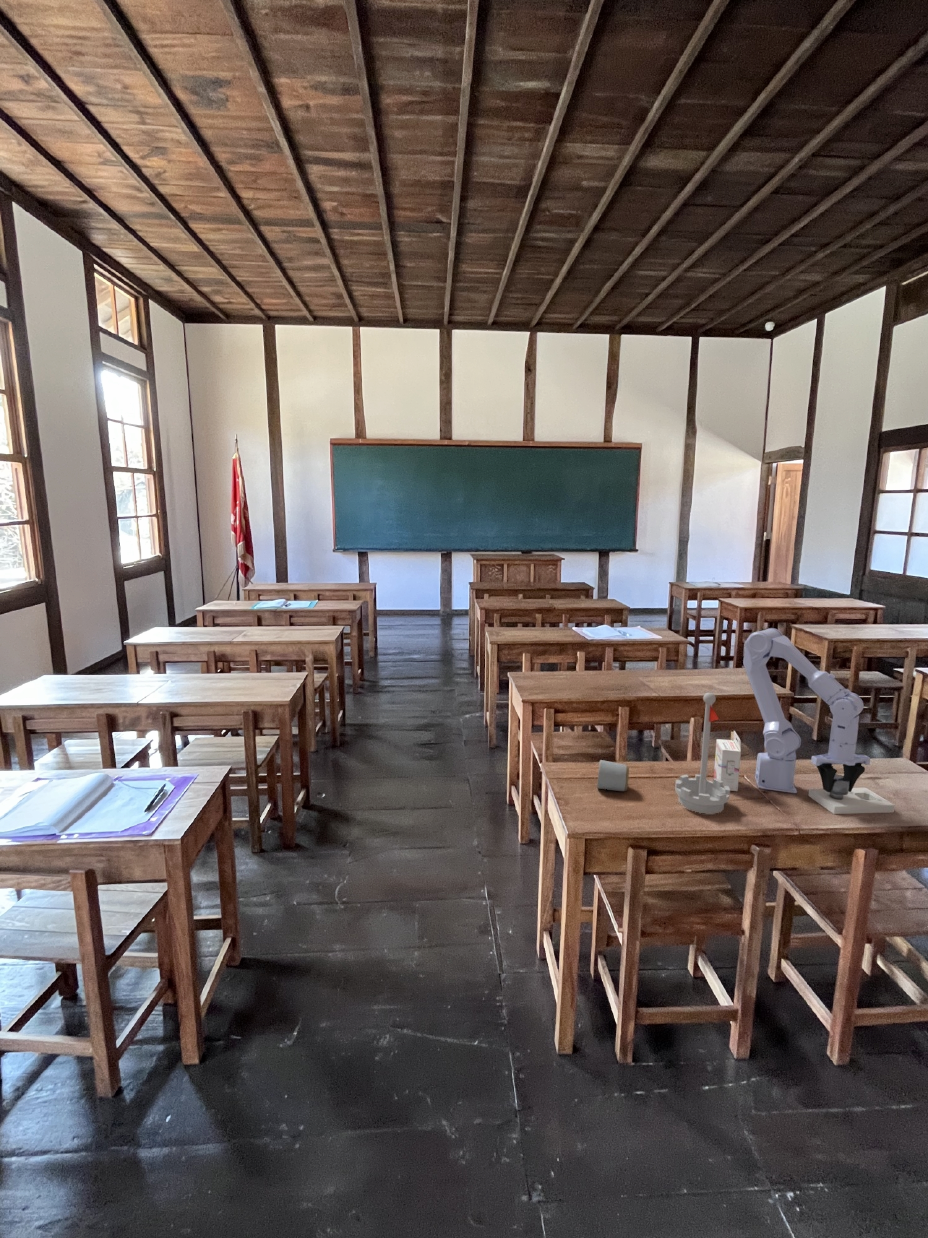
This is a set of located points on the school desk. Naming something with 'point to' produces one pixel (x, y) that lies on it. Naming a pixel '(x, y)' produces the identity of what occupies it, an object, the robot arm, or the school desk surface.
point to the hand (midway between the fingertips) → (837, 790)
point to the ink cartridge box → (728, 762)
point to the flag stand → (703, 776)
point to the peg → (839, 787)
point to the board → (853, 802)
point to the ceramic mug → (613, 776)
